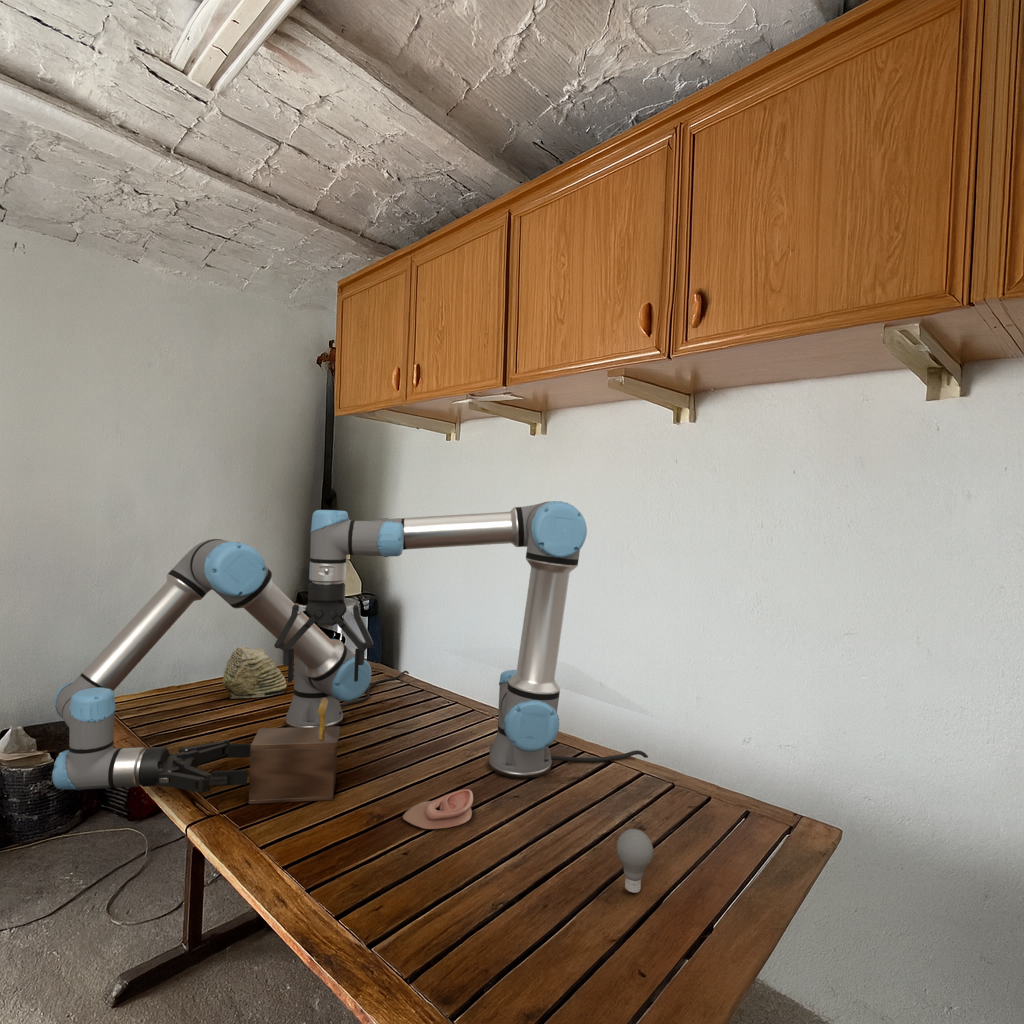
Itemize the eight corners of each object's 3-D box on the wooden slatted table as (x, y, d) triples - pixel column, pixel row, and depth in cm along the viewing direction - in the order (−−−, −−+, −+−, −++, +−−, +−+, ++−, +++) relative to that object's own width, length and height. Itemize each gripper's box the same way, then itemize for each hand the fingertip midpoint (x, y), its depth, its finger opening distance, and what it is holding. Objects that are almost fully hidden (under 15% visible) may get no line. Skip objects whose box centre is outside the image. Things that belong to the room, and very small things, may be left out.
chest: (335, 780, 142) (337, 730, 142) (332, 800, 133) (334, 747, 132) (257, 783, 138) (259, 732, 138) (248, 804, 129) (250, 750, 129)
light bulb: (610, 879, 108) (613, 822, 108) (644, 879, 109) (647, 822, 109) (619, 902, 102) (622, 840, 102) (655, 901, 103) (658, 840, 103)
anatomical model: (397, 804, 123) (417, 779, 135) (396, 824, 123) (417, 798, 135) (462, 814, 121) (478, 788, 132) (462, 835, 121) (477, 807, 132)
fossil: (218, 695, 195) (220, 647, 195) (278, 685, 208) (279, 640, 207) (228, 703, 189) (230, 653, 188) (289, 692, 201) (290, 645, 201)
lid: (339, 730, 142) (341, 695, 142) (337, 746, 132) (338, 709, 132) (259, 732, 138) (260, 696, 138) (250, 749, 129) (251, 711, 129)
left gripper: (163, 760, 142) (264, 756, 146) (117, 815, 117) (240, 809, 121) (165, 726, 141) (265, 724, 146) (119, 775, 117) (241, 770, 121)
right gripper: (262, 583, 130) (258, 686, 130) (386, 585, 135) (382, 684, 135) (269, 578, 137) (265, 676, 137) (386, 580, 142) (382, 674, 142)
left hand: (254, 762), depth 134 cm, fingers open, 13 cm apart
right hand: (323, 680), depth 136 cm, fingers open, 13 cm apart
